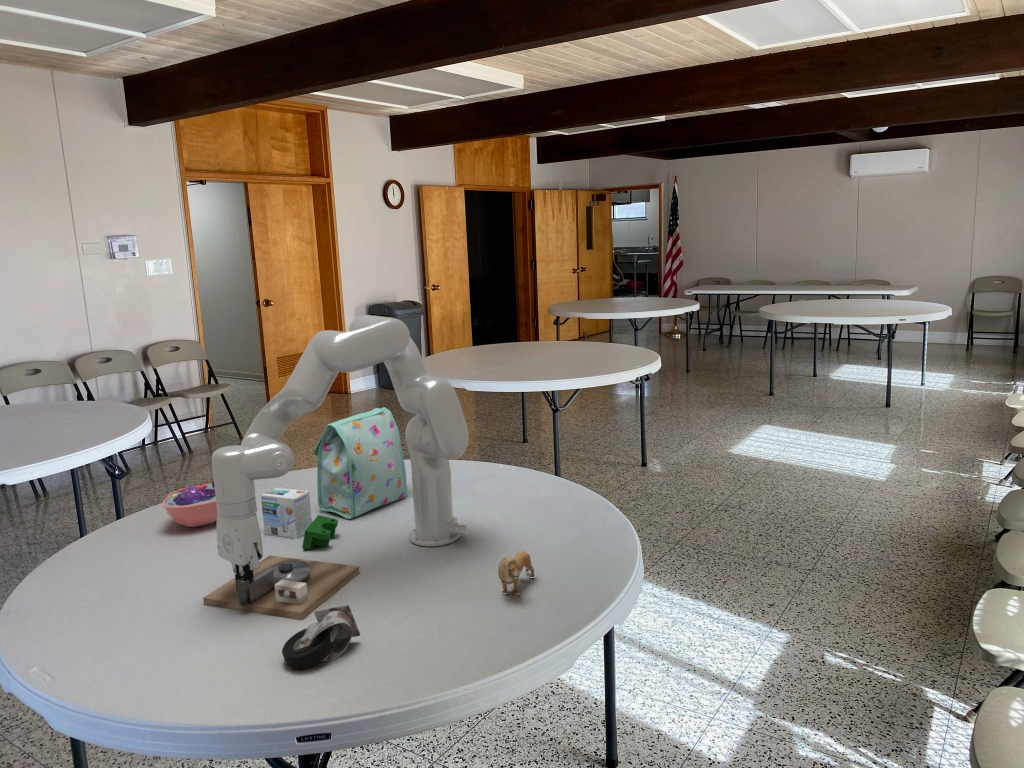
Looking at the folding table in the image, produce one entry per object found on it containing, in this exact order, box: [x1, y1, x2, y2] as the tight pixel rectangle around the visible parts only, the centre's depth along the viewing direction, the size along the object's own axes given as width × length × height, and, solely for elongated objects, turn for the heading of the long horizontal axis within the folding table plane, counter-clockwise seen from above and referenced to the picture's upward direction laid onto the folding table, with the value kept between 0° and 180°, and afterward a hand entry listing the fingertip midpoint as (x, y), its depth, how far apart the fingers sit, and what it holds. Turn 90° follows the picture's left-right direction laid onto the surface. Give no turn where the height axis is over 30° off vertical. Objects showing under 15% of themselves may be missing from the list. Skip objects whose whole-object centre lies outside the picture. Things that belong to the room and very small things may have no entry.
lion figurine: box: [497, 551, 535, 594], centre depth 156 cm, size 15×5×9 cm, turn 164°
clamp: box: [301, 514, 339, 551], centre depth 185 cm, size 11×6×8 cm, turn 171°
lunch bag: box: [313, 406, 408, 520], centre depth 209 cm, size 23×16×27 cm
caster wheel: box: [281, 604, 361, 670], centre depth 133 cm, size 7×12×10 cm
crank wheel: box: [237, 560, 311, 606], centre depth 157 cm, size 19×10×5 cm, turn 156°
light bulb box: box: [260, 487, 313, 540], centre depth 192 cm, size 11×7×11 cm, turn 68°
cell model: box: [162, 481, 218, 528], centre depth 201 cm, size 17×20×11 cm
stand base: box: [202, 555, 360, 621], centre depth 160 cm, size 24×22×5 cm
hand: (245, 590), depth 154 cm, fingers closed
